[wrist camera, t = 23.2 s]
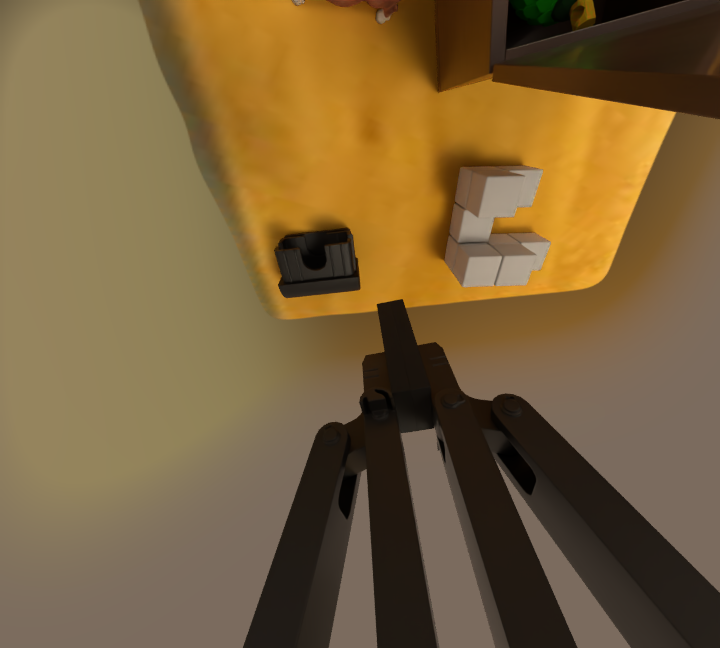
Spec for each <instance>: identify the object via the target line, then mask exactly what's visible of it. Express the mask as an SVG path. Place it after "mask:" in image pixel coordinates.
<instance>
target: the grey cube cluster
mask: <svg viewBox="0 0 720 648" xmlns="http://www.w3.org/2000/svg"><path fill="white" fill-rule="evenodd" d="M542 172H543V170H542V169H538V168H533V167H529V166H495V167H492V166H476V167H461V168H460V172H459V178H458V184H457V190H456V196H455V202H457V203H455V204H454V207H453V213H452V219H451V225H450V230H449V233H450V234H451V235H449V236H448V242H447V248H446V254H445V260H444V261H445V263H446V264H447V266H448V267H449V268H450V270H451V271H452V272H453V274H454V275H455V277H456V278H457V280H458V281H459V282H460V284H461V285H462V287H478V286H493V285H495V286H512V285H526V284H527V282H528V279H529V276H530V274H531V271H532V270H540V269H541V267H542V264H543V262H544V259H545V257H546V254H547V252H548V249H549V247H550V244H551V242H550V241H548V240H546V239H545V238H543V237H541V236H539V235H538V234H536V233H508V234H490V233H491V229H492V225H493V222H494V218H495V217H514V215H515V212H516V208H517V207H531V206H532V203H533V200H534V197H535V194H536V191H537V188H538V185H539V182H540V179H541V176H542Z"/></svg>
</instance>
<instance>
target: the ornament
mask: <svg viewBox="0 0 720 648" xmlns="http://www.w3.org/2000/svg"><path fill="white" fill-rule="evenodd" d="M509 1H510V3H511V4H512V7H513V8H514V9H515V10H516V11H515V13H516V15H517V16H518V17H520V19H522V20H525V21H527V23H528V24H529V25H542V26H543V27H547V26H550V25H553V24H556V23H558V22H565V21H567V20H571V24H572V30H573V31H576V30H579V29H583V28H586V27H590V26H593V25H594V24H595V19H596V15H595V9H594V4H593V2H594V1H595V0H509Z"/></svg>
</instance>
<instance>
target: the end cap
mask: <svg viewBox="0 0 720 648" xmlns="http://www.w3.org/2000/svg"><path fill="white" fill-rule="evenodd" d="M278 245H279V246H277V247H276V248H275V250H274V251H275V255H276V258H277V262H278V265H279V268H280V272H281V275H282V277H281V279H280V282H279V284H278V286H279V289H280V291H281V293H282V295H283V296H284V297H285V298H293V297H302V296H311V295H320V294H329V293H338V292H347V291H356V290H360V277H359V267H358V258H355V250H354V242H353V235H352V234H351V231H350V229H349V228H341V229H333V230H324V231H316V232H307V233H298V234H290V235H286V236H285V237H284V238H282V239H281V240H280V241H279V243H278Z"/></svg>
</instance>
